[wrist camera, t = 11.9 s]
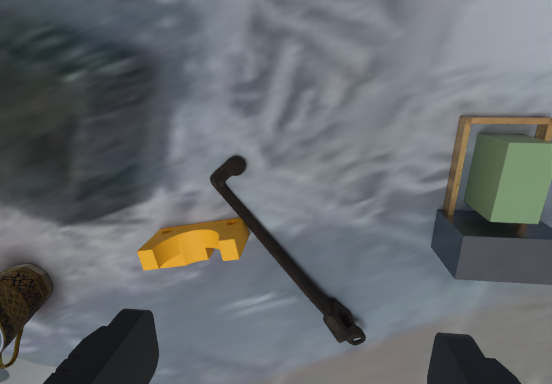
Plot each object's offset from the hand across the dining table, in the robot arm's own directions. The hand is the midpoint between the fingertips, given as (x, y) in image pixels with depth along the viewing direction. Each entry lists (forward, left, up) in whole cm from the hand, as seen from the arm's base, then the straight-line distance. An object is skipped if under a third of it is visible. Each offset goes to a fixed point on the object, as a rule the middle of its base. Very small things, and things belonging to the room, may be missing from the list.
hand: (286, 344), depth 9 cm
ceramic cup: (+23, -41, -30) cm, 56 cm away
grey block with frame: (+4, +21, -30) cm, 37 cm away
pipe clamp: (+12, -13, -30) cm, 35 cm away
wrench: (+14, -1, -31) cm, 34 cm away
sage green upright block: (+2, +21, -30) cm, 37 cm away
